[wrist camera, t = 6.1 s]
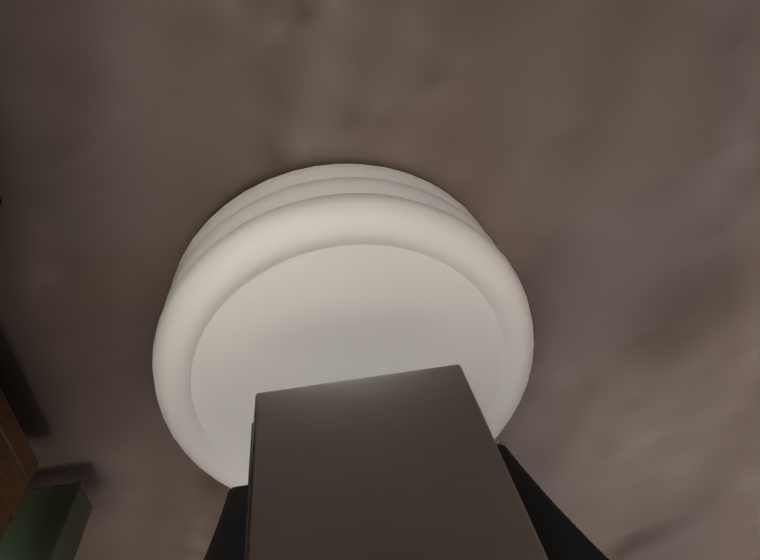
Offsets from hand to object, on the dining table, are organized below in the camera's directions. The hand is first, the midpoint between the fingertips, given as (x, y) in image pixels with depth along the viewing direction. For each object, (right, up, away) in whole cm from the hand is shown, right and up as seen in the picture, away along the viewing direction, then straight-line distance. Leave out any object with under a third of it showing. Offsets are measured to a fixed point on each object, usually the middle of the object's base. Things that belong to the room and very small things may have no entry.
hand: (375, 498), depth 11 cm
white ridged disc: (-1, +3, +6) cm, 7 cm away
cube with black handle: (0, 0, +1) cm, 1 cm away
